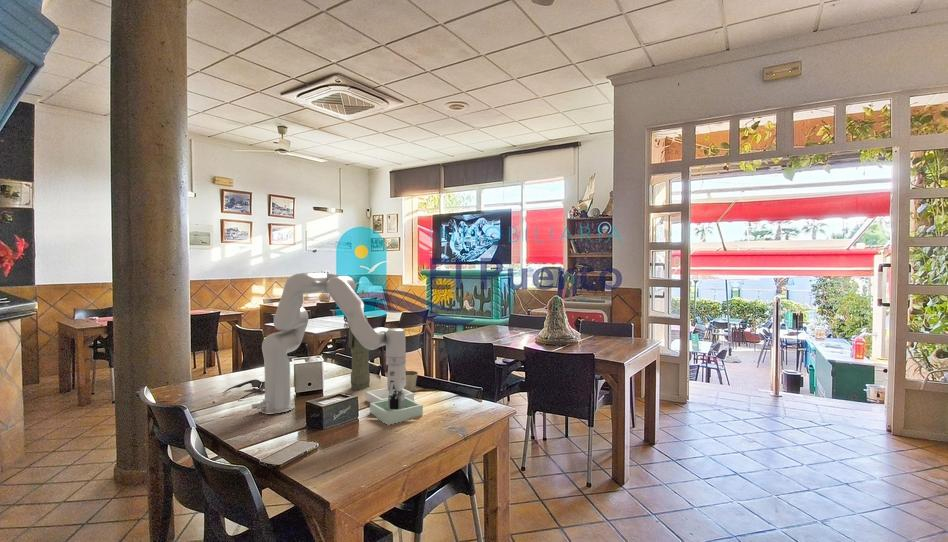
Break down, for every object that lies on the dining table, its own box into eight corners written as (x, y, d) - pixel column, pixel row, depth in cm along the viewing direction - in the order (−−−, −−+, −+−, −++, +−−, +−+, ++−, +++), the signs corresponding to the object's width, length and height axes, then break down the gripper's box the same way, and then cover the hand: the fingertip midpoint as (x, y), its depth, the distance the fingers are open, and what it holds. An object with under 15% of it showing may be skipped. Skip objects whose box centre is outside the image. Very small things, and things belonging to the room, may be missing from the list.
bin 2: (387, 425, 159) (387, 413, 159) (370, 414, 171) (370, 403, 171) (422, 416, 169) (422, 405, 168) (403, 407, 180) (403, 396, 180)
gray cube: (400, 409, 167) (400, 396, 167) (388, 408, 168) (388, 395, 168) (404, 404, 172) (404, 392, 172) (392, 404, 172) (392, 392, 172)
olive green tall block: (375, 386, 212) (375, 314, 212) (357, 392, 202) (357, 317, 202) (363, 383, 217) (362, 313, 217) (344, 389, 207) (344, 316, 207)
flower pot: (420, 388, 208) (420, 370, 207) (415, 394, 198) (415, 375, 198) (401, 388, 208) (401, 370, 208) (395, 394, 199) (395, 375, 199)
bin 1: (381, 411, 175) (381, 400, 175) (366, 402, 187) (365, 391, 187) (414, 403, 184) (414, 393, 184) (397, 395, 196) (397, 385, 196)
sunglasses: (273, 392, 202) (272, 382, 202) (238, 406, 188) (236, 395, 188) (252, 387, 211) (251, 378, 210) (217, 400, 197) (216, 390, 196)
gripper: (398, 365, 161) (399, 414, 161) (411, 356, 178) (411, 400, 178) (379, 365, 162) (379, 413, 162) (393, 355, 178) (393, 399, 179)
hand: (396, 406), depth 170 cm, fingers closed on gray cube, 5 cm apart
